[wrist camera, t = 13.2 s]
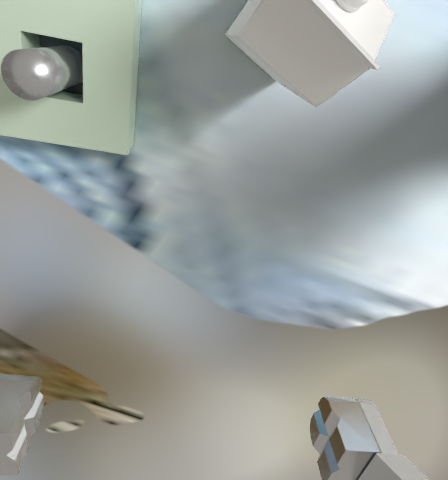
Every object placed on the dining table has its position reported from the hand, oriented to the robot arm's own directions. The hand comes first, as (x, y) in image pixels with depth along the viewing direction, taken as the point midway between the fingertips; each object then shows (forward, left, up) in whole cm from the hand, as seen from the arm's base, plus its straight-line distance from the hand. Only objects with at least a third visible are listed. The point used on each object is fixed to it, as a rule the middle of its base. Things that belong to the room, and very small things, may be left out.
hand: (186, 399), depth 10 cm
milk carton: (-6, -11, -34) cm, 37 cm away
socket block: (+14, -4, -34) cm, 37 cm away
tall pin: (+14, -4, -34) cm, 37 cm away
